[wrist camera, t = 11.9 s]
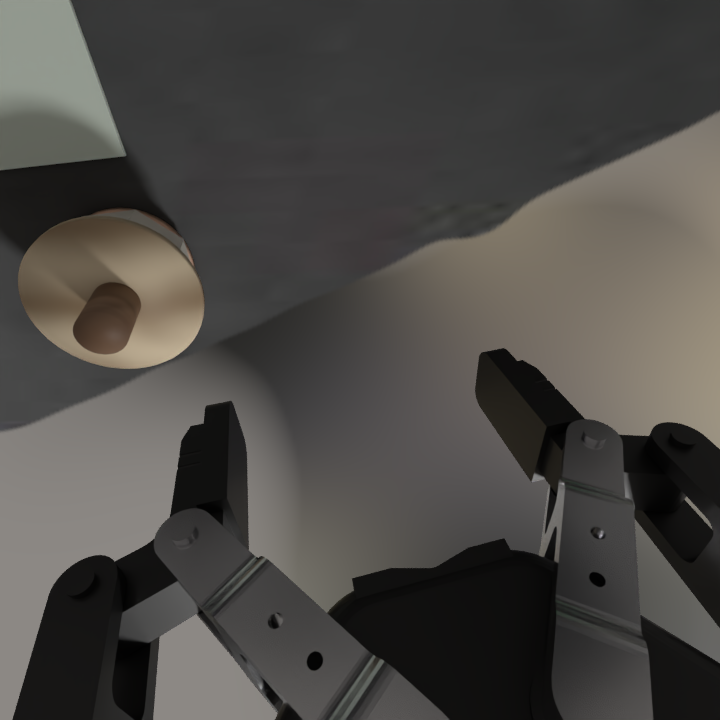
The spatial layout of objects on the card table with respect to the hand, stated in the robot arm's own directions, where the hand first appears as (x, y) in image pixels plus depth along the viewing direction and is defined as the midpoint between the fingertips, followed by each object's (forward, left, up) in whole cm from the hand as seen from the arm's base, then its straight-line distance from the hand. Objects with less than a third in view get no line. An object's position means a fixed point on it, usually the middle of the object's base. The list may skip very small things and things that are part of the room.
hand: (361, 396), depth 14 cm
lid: (+5, -14, -22) cm, 27 cm away
